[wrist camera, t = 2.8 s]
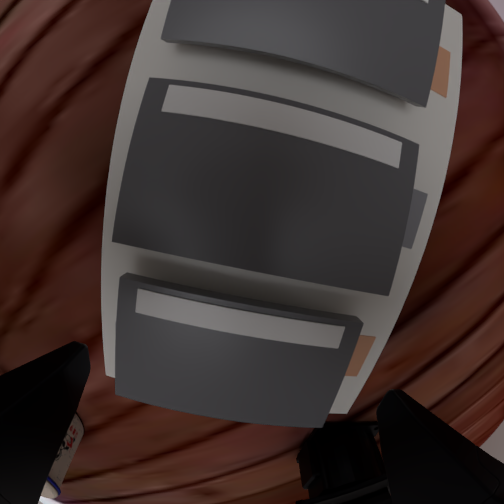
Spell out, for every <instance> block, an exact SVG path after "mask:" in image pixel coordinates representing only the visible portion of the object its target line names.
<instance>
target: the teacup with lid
mask: <svg viewBox="0 0 504 504" xmlns="http://www.w3.org/2000/svg"><path fill="white" fill-rule="evenodd" d="M83 433H84V429H83V425H82V423H81V421H80V419H79V417H78V416H77V415H76V413H75V416H74V418H73V420H72V422H71V425H70V427H69V429H68V431H67V433H66V435H65V438H64V440H63V442H62V444H61V447H60V449H59V451H58V454H57V456H56V458H55V461H54V463H53V465H52V468H51V470H50V473H49V475H48V478H47V480H46V483H45V485H44V488H43V491H42V493H41V496H43V497H46V498H56V497H57V496H58V495H60V493H61V491H60V486H61V483H62V481H63V479H64V476H65V474H66V472H67V469H68V467H69V465H70V463H71V460H72V458H73V456H74V454H75V451H76V449H77V447H78V445H79V443H80V440H81V438H82V436H83Z"/></svg>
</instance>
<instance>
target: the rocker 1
mask: <svg viewBox="0 0 504 504" xmlns="http://www.w3.org/2000/svg"><path fill="white" fill-rule="evenodd" d="M444 9H445V0H171V2H170V6H169V9H168V12H167V16H166V20H165V23H164V27H163V31H162V35H161V39H162V40H163V41H165V42H167V43H179V44H191V45H201V46H210V47H217V48H225V49H231V50H237V51H243V52H249V53H254V54H259V55H264V56H269V57H274V58H278V59H282V60H286V61H291V62H295V63H298V64H302V65H306V66H309V67H313V68H316V69H320V70H323V71H326V72H330V73H333V74H336V75H339V76H342V77H345V78H348V79H351V80H353V81H356V82H359V83H362V84H364V85H367V86H370V87H372V88H375V89H377V90H380V91H382V92H385V93H387V94H389V95H392V96H394V97H396V98H399V99H401V100H403V101H405V102H408V103H410V104H412V105H414V106H416V107H424V108H426V106H427V102H428V98H429V94H430V89H431V85H432V80H433V76H434V71H435V66H436V61H437V56H438V50H439V44H440V38H441V32H442V25H443V17H444Z"/></svg>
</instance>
